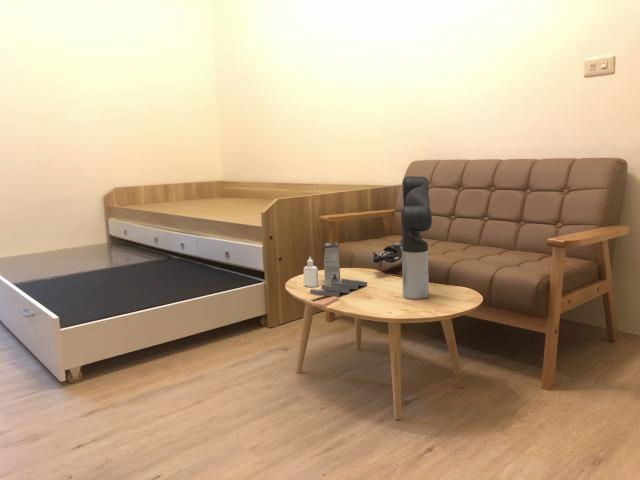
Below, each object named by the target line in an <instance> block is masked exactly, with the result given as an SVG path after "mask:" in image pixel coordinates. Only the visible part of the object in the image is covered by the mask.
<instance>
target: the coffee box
mask: <svg viewBox="0 0 640 480" xmlns="http://www.w3.org/2000/svg"><path fill="white" fill-rule="evenodd" d="M339 243H340V242H339V241H329V242H326V241H324V242H323V261H324V262H323V267H324V269H323V270H324V272H323V273H324V285H327V286H331V285H332V282H339V283H341V267H340V266H341V265H340V263H341V262H340V244H339Z"/></svg>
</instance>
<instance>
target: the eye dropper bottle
mask: <svg viewBox="0 0 640 480" xmlns="http://www.w3.org/2000/svg"><path fill="white" fill-rule="evenodd" d="M306 263H307V265H306V266H304V267H303V284H304V287H306V286H307V288H316V287H318V286H319V270H318V267H317V266H315V265H314V260H313V259H312V257H311V256H309V257H308V259H307V261H306Z"/></svg>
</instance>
